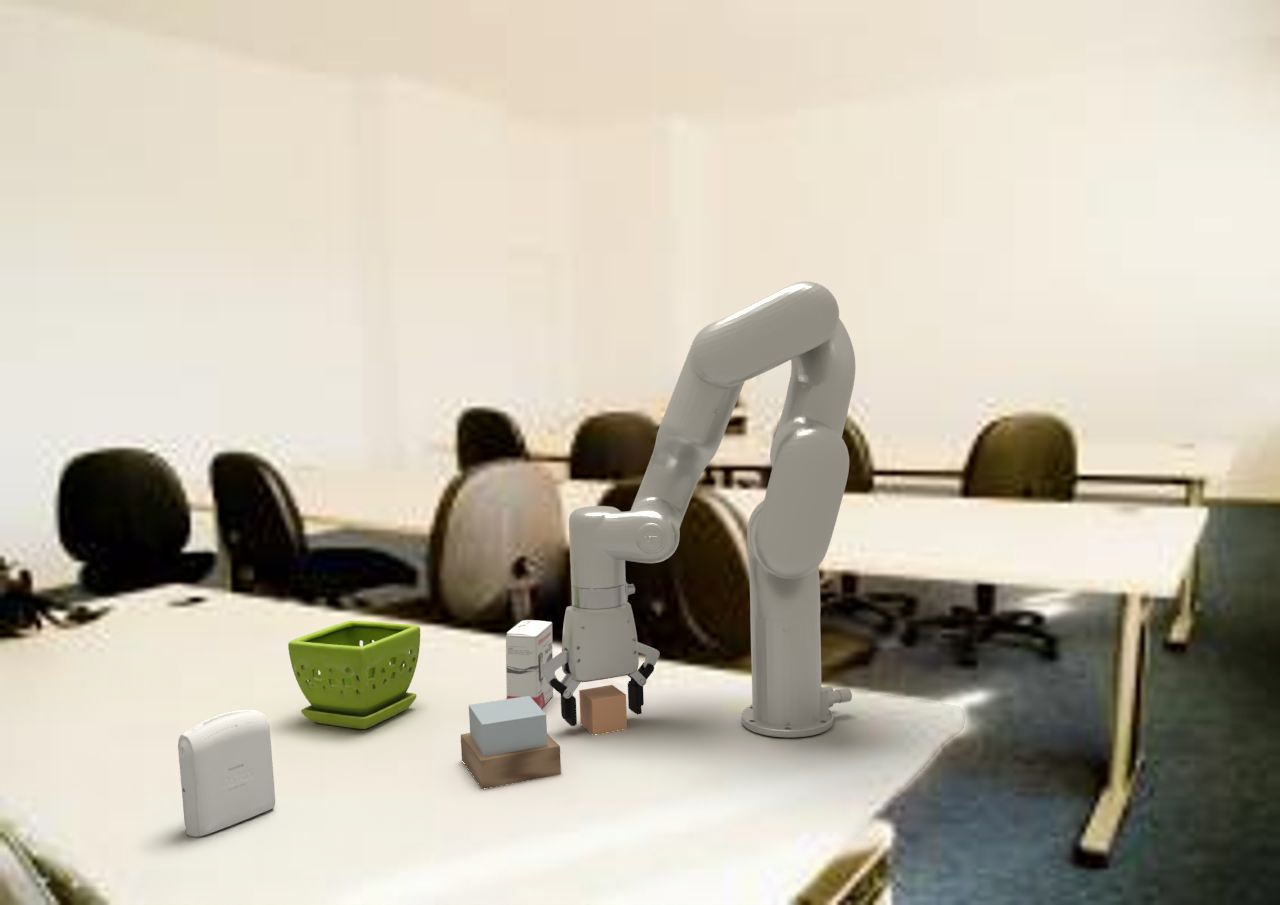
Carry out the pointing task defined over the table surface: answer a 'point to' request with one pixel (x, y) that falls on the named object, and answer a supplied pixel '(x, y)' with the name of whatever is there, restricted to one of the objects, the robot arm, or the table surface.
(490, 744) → the slate block
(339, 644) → the flower pot
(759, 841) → the table surface
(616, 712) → the terracotta cube
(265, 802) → the photo printer
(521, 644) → the ink box
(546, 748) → the walnut slab
